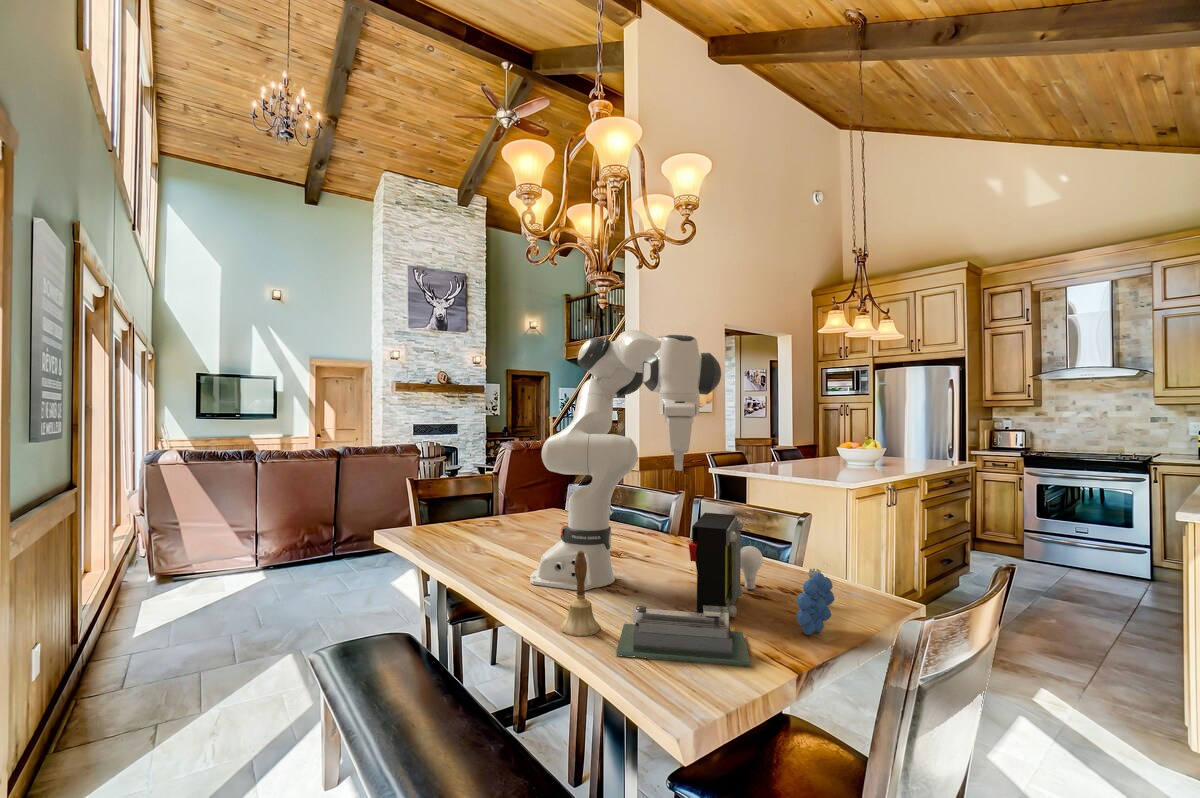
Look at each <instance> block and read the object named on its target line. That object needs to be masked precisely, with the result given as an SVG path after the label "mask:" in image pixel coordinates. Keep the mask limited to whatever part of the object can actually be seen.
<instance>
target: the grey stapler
mask: <svg viewBox="0 0 1200 798" xmlns="http://www.w3.org/2000/svg"><path fill="white" fill-rule="evenodd" d="M703 612H704V616H717V617H719V618H714V624H700V623H685V622H671V621H656V620H642V619H640V621H639V623H623V626H622V629H621V633H620V637H619V641H618V644H617V647H616V652H615V653H616V654H615V655H622V656H635V657H646V658H655V659H654V660H658V659H661V661H674V662H685V663H686V662H687V663H696V664H697V663H698V664H710V665H722V666H732V667H733V666H735V667H736V666H737V667H746V668H747V667H748V668H749V667H750V668H751V659H750V654H749V651H748V648H747V644H746V639H745V636H744V632H743V631H735V630H734V631H733V630H731V626H730V617H729V612H728V607H720V606H705V605H703ZM646 658H645V659H646Z"/></svg>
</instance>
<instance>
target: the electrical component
mask: <svg viewBox="0 0 1200 798" xmlns="http://www.w3.org/2000/svg"><path fill="white" fill-rule="evenodd" d="M743 529H744V521H743V520H741V519H740V520H739V519H738V516H737V515H735V514H730V513H729V514H726V513H715V512H714V513H713V512H704V513H703V514H702V515H701V516H700V517H699V518H698V520H696V522H695V523H694V524H693V525H692V526H691V539H692V540H691V541H692V543H688V551H689V558H690V561H691V562H695V567H696V613H704V612H703V605H705V606H720V607H728V612H729V618H730V617H735V618H736V616H737V613H738V609H737V607H736V605H735V604H736V603H737V599H738V597H741V598H742V597H743V595H744V590H743V589H744V588H743V586H741V575H742V574H741V571H742V569H741V549H742V546H741V545H742V544H741V542H742V541H741V539H742V538H741V537H742V535H741V533H742V532H741V531H742V530H743ZM714 618H719V617H717V616H714Z"/></svg>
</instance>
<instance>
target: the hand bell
mask: <svg viewBox="0 0 1200 798" xmlns="http://www.w3.org/2000/svg"><path fill="white" fill-rule="evenodd" d="M586 573H587V562H586V558H585V555H584V552H583V551H578V553H577V557H576V560H575V576H576V579H577V590H576V598H575V599H573V600H571V601H570V603H569V608H568V613H567V616H566V619H565V620H564V621H562V623H561V624H560V626H559V627H560V628H561V629H560V631H561V630H562V631H563V632H565V633H568V634H571V635H575V636H574V637H588V636H587V635H589V636H592V635H591V634H593V635H595V634H597V633H598V632H599V631H600V630H601V625H600V623H599V622H598V621H597V620H596V619H595V616H594V615H593V614H594V613H593V609H592V607H593V606H592V603H591V601H590V600H589V599H587V598H586V594H585V593H586V592H585V591H586V590H585V588H584V581H585V577H586ZM562 631H561V632H562ZM563 632H562V633H563ZM596 632H597V633H596ZM565 633H564V634H565ZM594 633H595V634H594ZM568 634H567V635H568ZM571 635H570V636H571Z"/></svg>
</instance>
